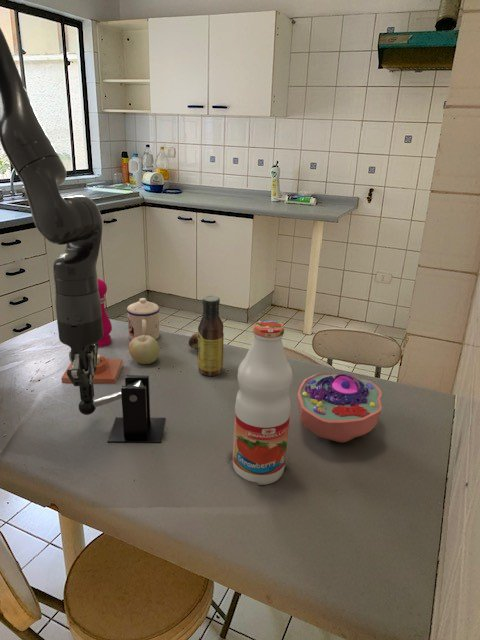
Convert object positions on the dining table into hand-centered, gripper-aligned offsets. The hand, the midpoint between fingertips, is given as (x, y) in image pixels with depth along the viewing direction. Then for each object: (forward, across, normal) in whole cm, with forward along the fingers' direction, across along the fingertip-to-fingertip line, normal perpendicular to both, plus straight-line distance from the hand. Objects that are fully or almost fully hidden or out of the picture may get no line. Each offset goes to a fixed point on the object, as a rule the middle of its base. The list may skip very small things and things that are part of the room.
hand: (87, 399), depth 88 cm
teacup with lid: (+8, -45, +4) cm, 46 cm away
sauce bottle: (+8, -26, +23) cm, 36 cm away
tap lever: (+1, 0, +5) cm, 5 cm away
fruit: (+8, -31, +6) cm, 33 cm away
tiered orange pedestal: (+8, -23, -5) cm, 25 cm away
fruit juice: (+8, +10, +32) cm, 35 cm away
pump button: (+4, -23, -5) cm, 24 cm away
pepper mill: (+8, -42, -8) cm, 43 cm away
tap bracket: (+8, 0, +9) cm, 12 cm away
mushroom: (+8, -38, +21) cm, 44 cm away
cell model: (+8, -2, +49) cm, 50 cm away
